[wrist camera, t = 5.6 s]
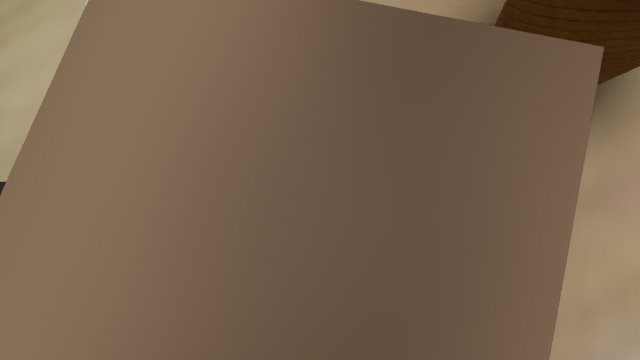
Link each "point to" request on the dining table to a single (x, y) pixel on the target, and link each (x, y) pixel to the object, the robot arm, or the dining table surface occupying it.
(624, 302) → the dining table surface
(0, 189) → the robot arm
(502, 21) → the disposable coffee cup
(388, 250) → the post
